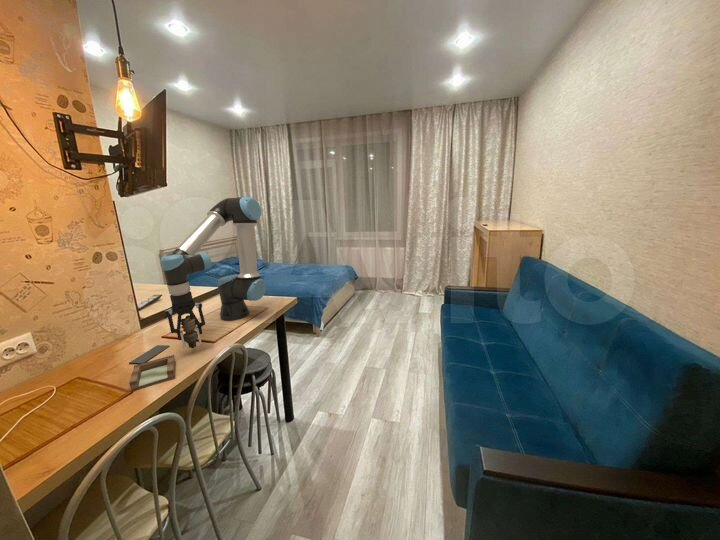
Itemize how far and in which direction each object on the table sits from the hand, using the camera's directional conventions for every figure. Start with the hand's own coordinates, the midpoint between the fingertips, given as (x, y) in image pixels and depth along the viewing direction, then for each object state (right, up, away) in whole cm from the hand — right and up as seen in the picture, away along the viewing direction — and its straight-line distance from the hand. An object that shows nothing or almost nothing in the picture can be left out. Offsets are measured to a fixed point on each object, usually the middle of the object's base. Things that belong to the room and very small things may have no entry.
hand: (192, 343), depth 124 cm
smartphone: (-19, -6, +1) cm, 20 cm away
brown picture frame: (-5, -8, -15) cm, 18 cm away
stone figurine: (0, -2, +1) cm, 3 cm away
